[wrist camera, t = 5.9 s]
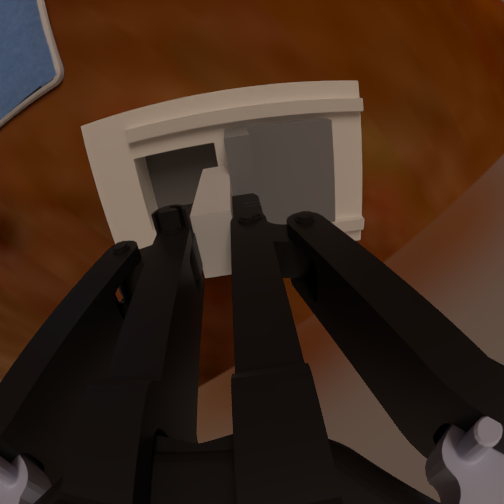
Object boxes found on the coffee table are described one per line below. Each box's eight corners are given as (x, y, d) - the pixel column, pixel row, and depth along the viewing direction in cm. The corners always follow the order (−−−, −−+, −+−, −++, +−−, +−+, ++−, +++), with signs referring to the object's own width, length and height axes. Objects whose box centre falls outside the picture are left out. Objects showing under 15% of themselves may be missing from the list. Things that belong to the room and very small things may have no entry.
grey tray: (136, 253, 24) (125, 278, 21) (98, 120, 18) (77, 127, 15) (346, 221, 24) (363, 243, 21) (341, 80, 18) (361, 80, 15)
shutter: (240, 227, 20) (242, 255, 17) (224, 129, 17) (223, 138, 14) (330, 215, 20) (348, 239, 17) (326, 118, 16) (346, 125, 14)
